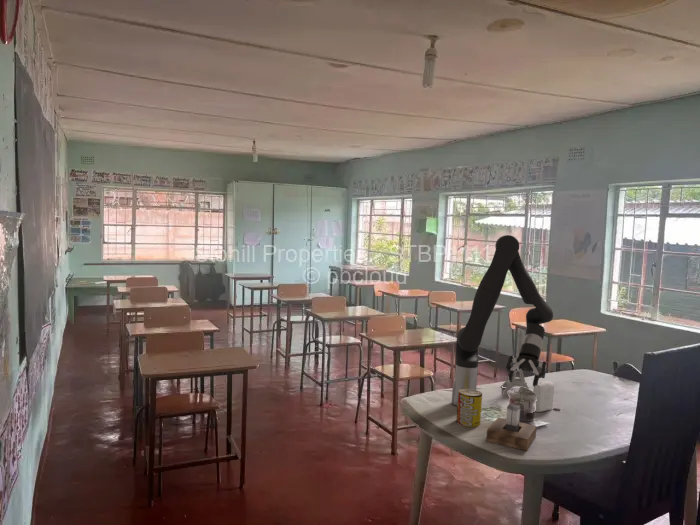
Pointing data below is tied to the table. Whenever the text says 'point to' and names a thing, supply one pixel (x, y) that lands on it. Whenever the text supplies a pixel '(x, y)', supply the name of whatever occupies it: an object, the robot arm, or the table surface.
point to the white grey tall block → (513, 417)
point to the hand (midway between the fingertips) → (522, 383)
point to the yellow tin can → (469, 407)
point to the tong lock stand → (511, 434)
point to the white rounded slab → (544, 395)
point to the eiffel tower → (516, 380)
